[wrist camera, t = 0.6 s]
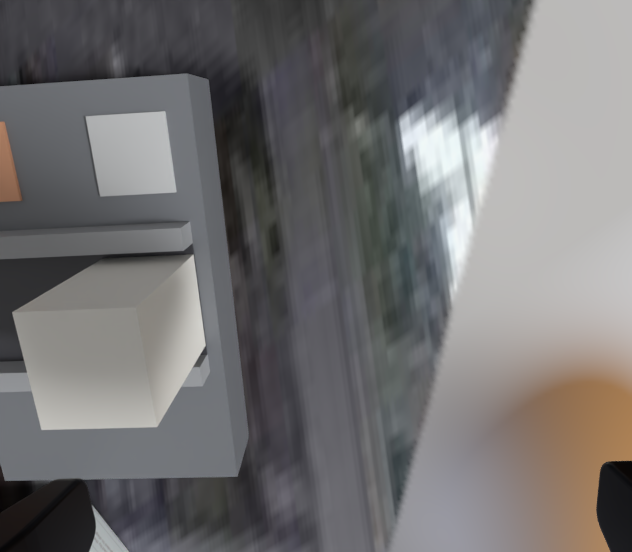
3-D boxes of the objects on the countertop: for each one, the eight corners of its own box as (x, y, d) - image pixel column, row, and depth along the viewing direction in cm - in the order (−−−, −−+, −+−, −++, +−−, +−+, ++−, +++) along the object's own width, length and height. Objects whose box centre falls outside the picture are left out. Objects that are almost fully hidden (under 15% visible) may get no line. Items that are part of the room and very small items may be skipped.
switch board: (248, 436, 21) (231, 495, 18) (41, 441, 22) (-12, 499, 19) (208, 79, 17) (177, 70, 14) (-46, 96, 18) (-135, 92, 15)
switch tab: (205, 345, 17) (156, 427, 13) (119, 348, 18) (41, 430, 13) (193, 254, 16) (136, 307, 12) (102, 258, 17) (12, 312, 12)
